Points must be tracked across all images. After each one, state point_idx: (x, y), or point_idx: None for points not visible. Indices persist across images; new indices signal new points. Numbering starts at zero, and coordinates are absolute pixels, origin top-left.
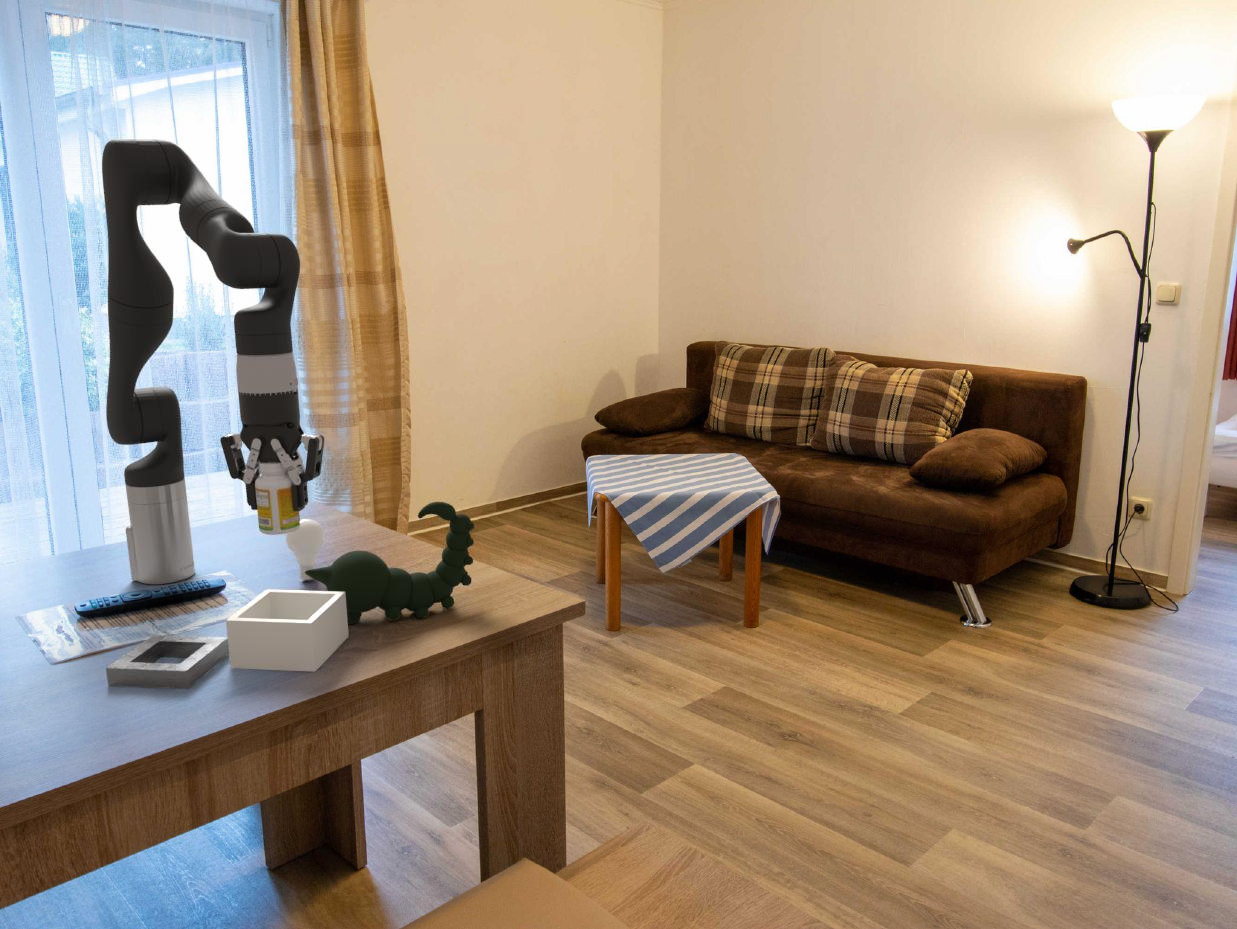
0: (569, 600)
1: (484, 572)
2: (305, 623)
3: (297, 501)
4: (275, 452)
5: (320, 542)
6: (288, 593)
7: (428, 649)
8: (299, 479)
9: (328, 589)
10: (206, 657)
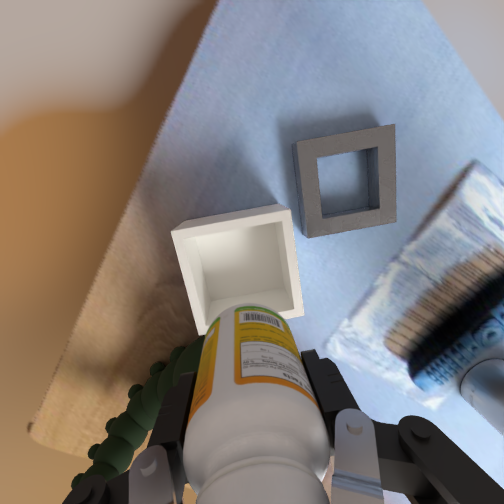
0: (39, 440)
1: None
2: (179, 229)
3: (175, 393)
4: None
5: (330, 457)
6: None
7: (103, 300)
8: (132, 471)
9: None
10: (301, 188)
